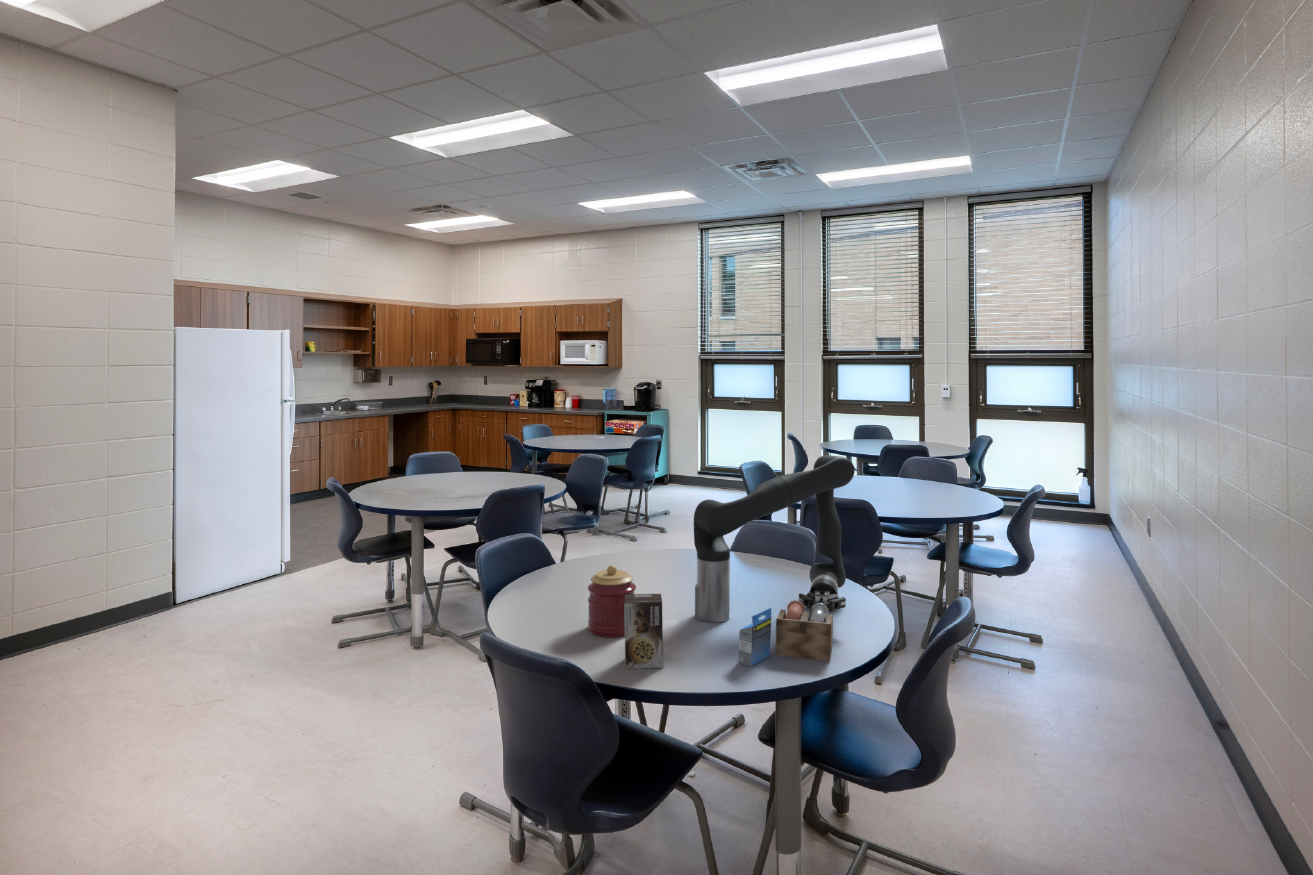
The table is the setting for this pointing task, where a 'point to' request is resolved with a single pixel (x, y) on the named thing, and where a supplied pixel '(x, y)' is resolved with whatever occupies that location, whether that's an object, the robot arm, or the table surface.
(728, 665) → the table surface
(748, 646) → the label tape box
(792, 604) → the brick plug
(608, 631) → the canister
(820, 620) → the steel plug
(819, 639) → the wooden plug holder
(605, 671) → the table surface
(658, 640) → the coffee box
